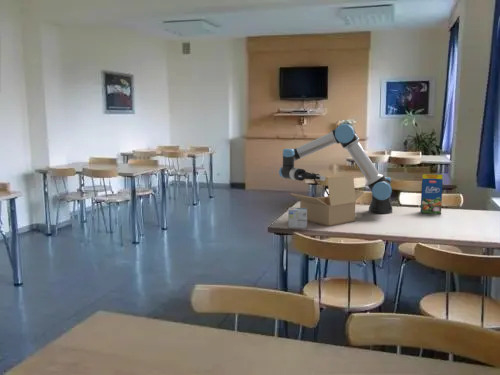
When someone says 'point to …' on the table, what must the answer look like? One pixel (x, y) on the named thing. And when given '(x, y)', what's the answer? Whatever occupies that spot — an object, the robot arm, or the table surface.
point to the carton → (328, 210)
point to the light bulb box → (297, 218)
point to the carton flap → (341, 190)
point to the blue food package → (431, 194)
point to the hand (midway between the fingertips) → (324, 178)
